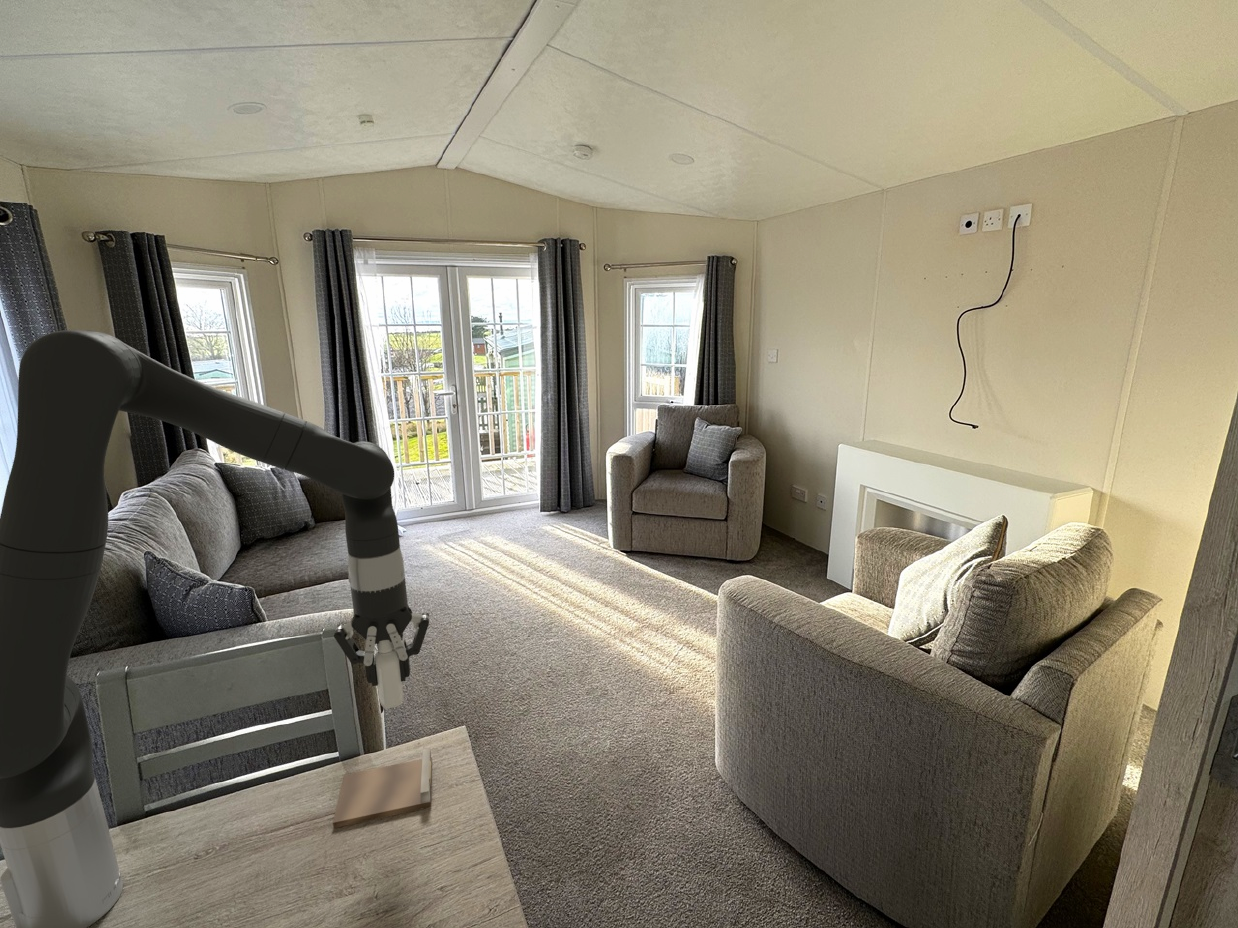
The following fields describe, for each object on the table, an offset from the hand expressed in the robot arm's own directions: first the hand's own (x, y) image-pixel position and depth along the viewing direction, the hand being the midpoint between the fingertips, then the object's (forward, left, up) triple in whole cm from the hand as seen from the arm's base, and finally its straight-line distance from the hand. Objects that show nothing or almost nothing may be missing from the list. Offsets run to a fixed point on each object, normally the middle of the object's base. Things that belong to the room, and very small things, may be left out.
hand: (389, 680), depth 91 cm
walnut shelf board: (-2, 0, -20) cm, 20 cm away
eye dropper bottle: (0, 0, -3) cm, 3 cm away
